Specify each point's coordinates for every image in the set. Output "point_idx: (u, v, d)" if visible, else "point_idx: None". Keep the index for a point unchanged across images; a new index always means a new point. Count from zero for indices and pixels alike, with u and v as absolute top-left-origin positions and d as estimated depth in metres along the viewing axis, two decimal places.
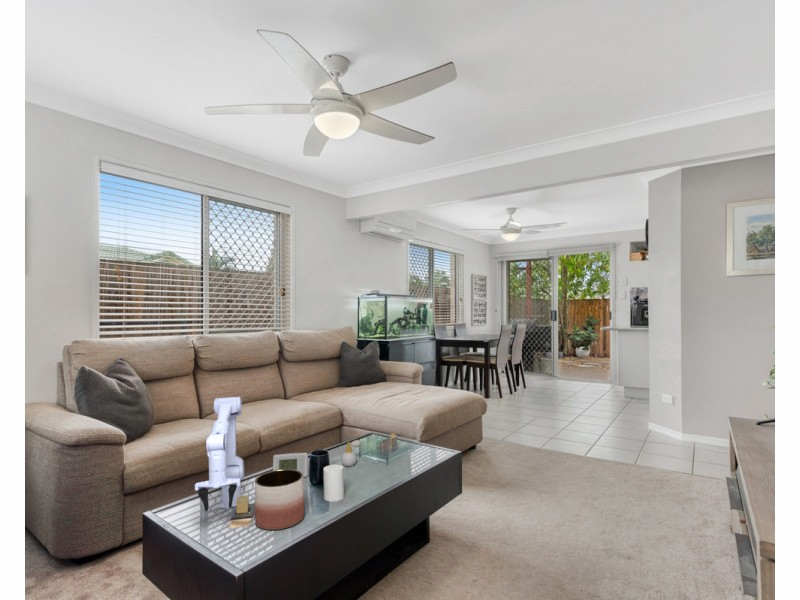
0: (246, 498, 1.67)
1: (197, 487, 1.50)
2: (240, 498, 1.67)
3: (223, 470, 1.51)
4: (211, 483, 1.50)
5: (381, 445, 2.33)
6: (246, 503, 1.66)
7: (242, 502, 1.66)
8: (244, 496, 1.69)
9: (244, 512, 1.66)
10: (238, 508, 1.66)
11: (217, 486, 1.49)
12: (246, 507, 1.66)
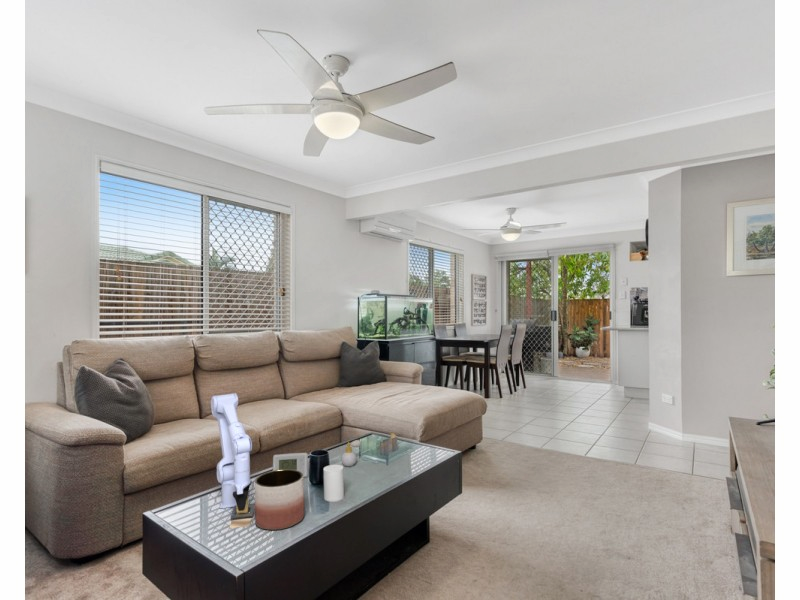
0: (246, 498, 1.67)
1: None
2: None
3: (236, 472, 1.66)
4: None
5: (381, 445, 2.33)
6: (246, 503, 1.66)
7: None
8: None
9: (244, 512, 1.66)
10: None
11: (231, 483, 1.67)
12: (246, 507, 1.66)
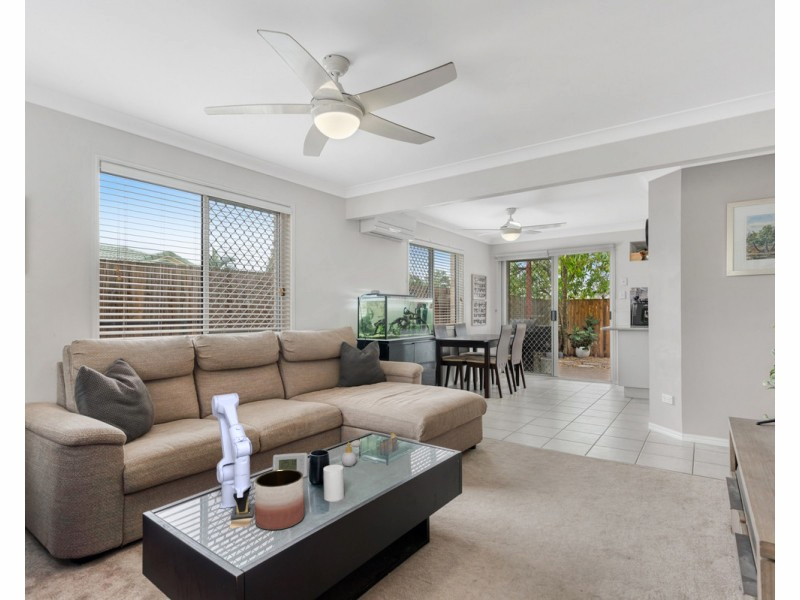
0: None
1: None
2: None
3: (236, 476, 1.66)
4: None
5: (381, 445, 2.33)
6: (246, 503, 1.66)
7: None
8: None
9: (244, 512, 1.66)
10: None
11: (231, 487, 1.67)
12: (246, 507, 1.66)
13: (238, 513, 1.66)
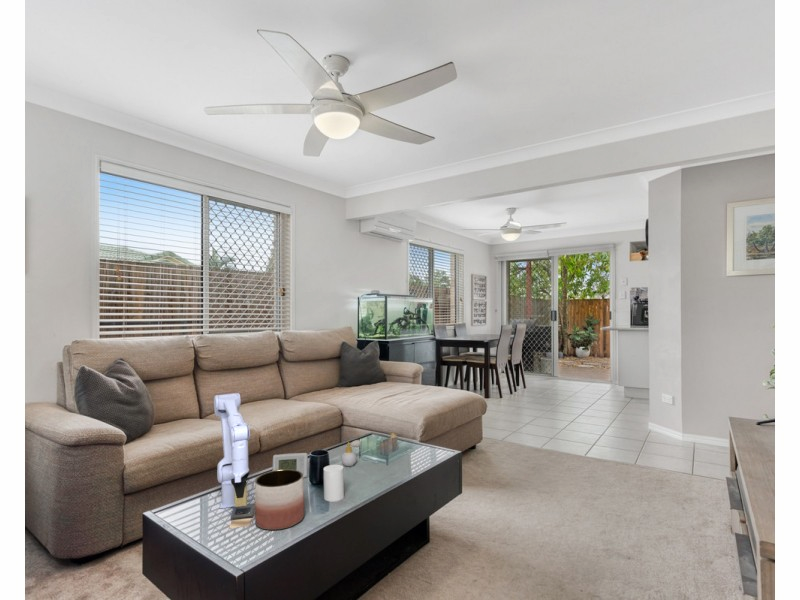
0: None
1: None
2: None
3: (234, 461, 1.61)
4: None
5: (381, 445, 2.33)
6: (244, 490, 1.61)
7: None
8: None
9: (242, 499, 1.61)
10: None
11: (229, 472, 1.62)
12: (244, 494, 1.61)
13: (236, 501, 1.61)
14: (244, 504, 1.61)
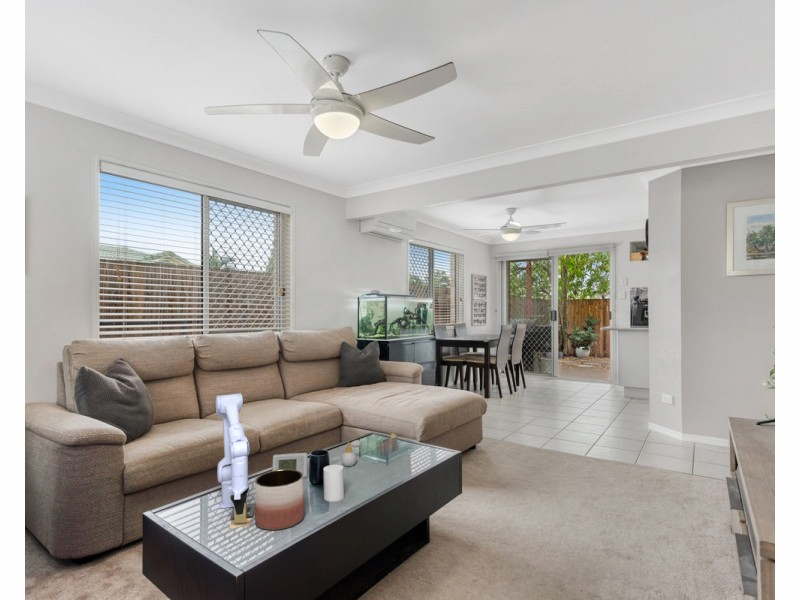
0: None
1: None
2: None
3: (233, 477, 1.59)
4: None
5: (381, 445, 2.33)
6: (244, 507, 1.60)
7: None
8: None
9: (242, 516, 1.60)
10: (235, 512, 1.59)
11: None
12: (244, 511, 1.60)
13: (236, 517, 1.59)
14: (244, 521, 1.60)
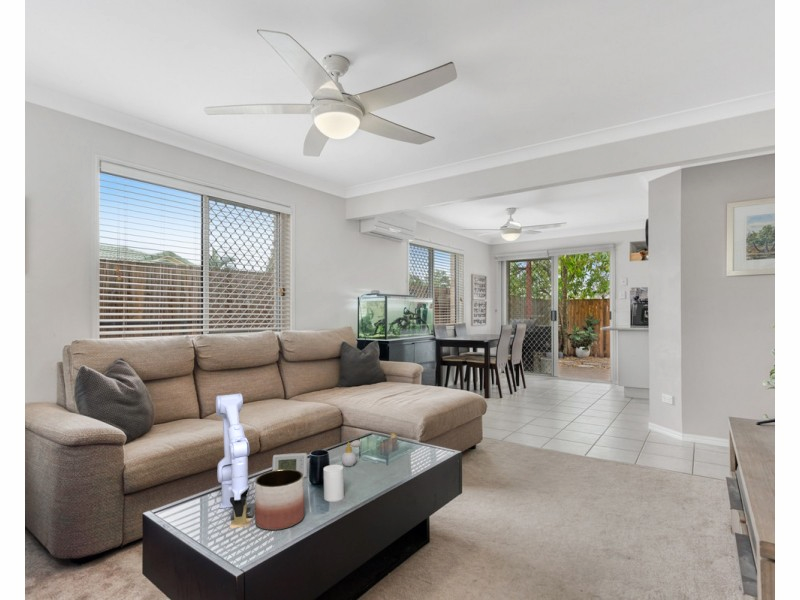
0: (244, 504, 1.61)
1: None
2: None
3: (233, 477, 1.59)
4: None
5: (381, 445, 2.33)
6: (243, 509, 1.60)
7: None
8: None
9: (242, 518, 1.60)
10: None
11: None
12: (244, 513, 1.60)
13: (236, 519, 1.59)
14: (244, 523, 1.60)
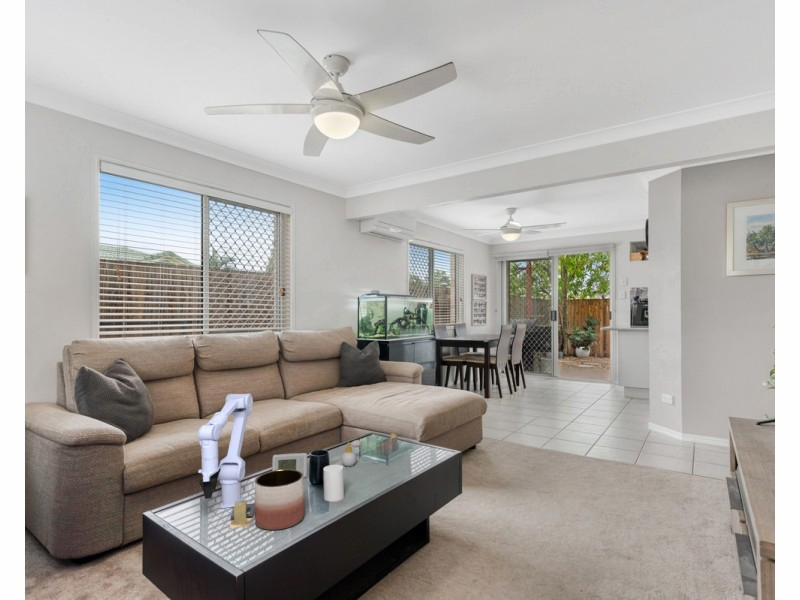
0: (244, 504, 1.61)
1: None
2: (238, 503, 1.61)
3: (203, 460, 1.61)
4: None
5: (381, 445, 2.33)
6: (243, 509, 1.60)
7: (240, 508, 1.60)
8: (242, 501, 1.63)
9: (242, 518, 1.60)
10: (235, 514, 1.59)
11: (198, 471, 1.62)
12: (244, 513, 1.60)
13: (236, 519, 1.59)
14: (244, 523, 1.60)
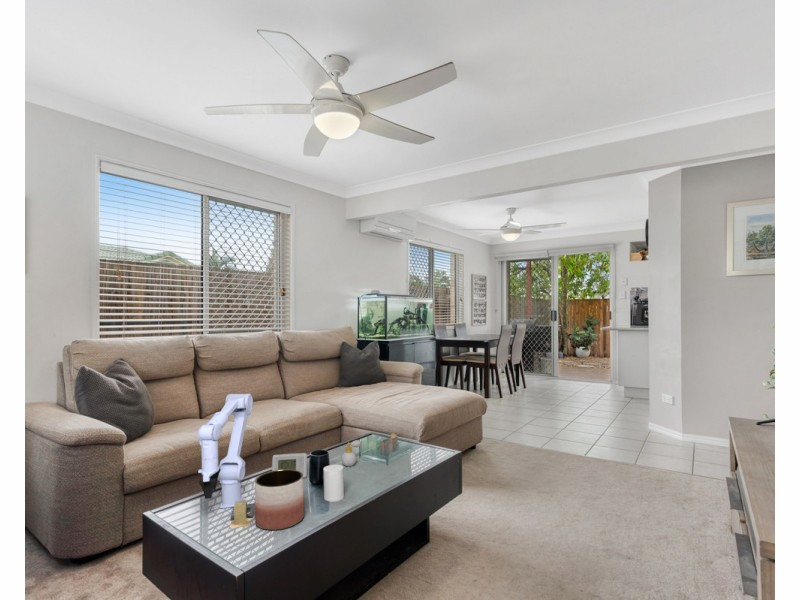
0: (244, 504, 1.61)
1: None
2: (238, 503, 1.61)
3: (203, 460, 1.61)
4: None
5: (381, 445, 2.33)
6: (243, 509, 1.60)
7: (240, 508, 1.60)
8: (242, 501, 1.63)
9: (242, 518, 1.60)
10: (235, 514, 1.59)
11: (198, 471, 1.62)
12: (244, 513, 1.60)
13: (236, 519, 1.59)
14: (244, 523, 1.60)
